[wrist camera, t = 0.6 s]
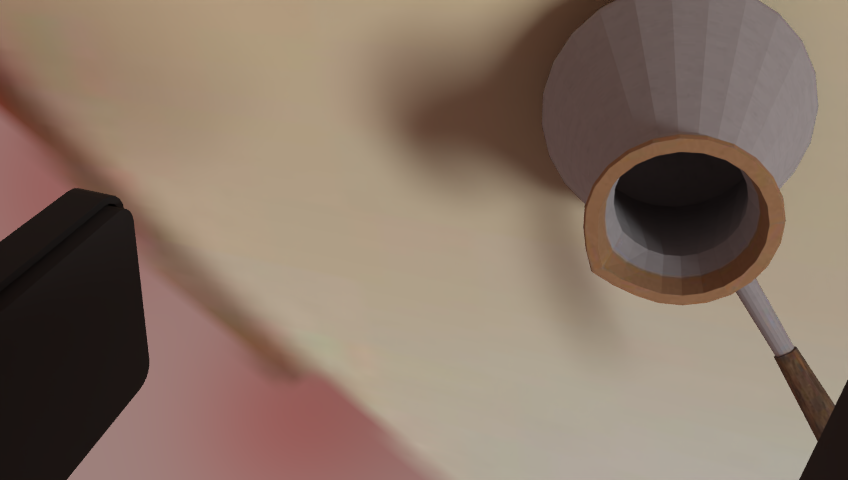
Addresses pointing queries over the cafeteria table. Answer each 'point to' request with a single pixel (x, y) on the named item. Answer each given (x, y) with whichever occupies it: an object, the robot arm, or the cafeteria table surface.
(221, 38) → the cafeteria table surface
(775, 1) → the cafeteria table surface
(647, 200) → the coffee pot
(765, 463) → the cafeteria table surface
